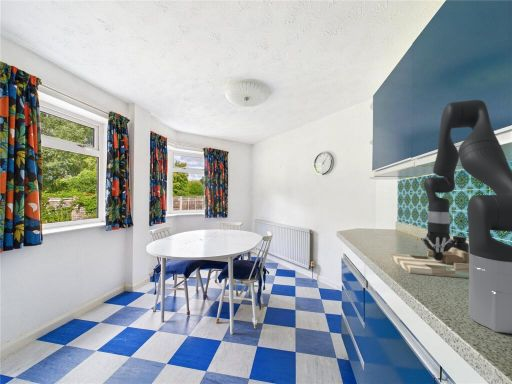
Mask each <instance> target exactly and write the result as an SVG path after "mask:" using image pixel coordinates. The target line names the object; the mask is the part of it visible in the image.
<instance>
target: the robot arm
mask: <svg viewBox="0 0 512 384" xmlns="http://www.w3.org/2000/svg"><path fill="white" fill-rule="evenodd" d="M487 107H488V106H487V105H486V103H485V102H484V101H483V100H481V99H472V100H462V101H461V100H460V101H453V102H449V103H447V104H446V105H445V107H444V109H443V111H442V114H441V119H440V125H439V134H438V145H437V153H436V154H437V155H436V157H435V162H434V165H433V168H432V169H433V170H432V172H433V174H434V175H436V177H435V176H430V177H427V178H426V179H425V180H424V183H423V187H424V191H425V194H426V197H427V202H428V212H427V213H428V214H427V234H426V236H425V237H421V238H420V241H422V243H423V244H424V245H425V246H426V248H427V249H428V250H432V251H433V258H434V259H435V260H437V261H441V260H442V259H443V252H445V251H446V252H447V251H450V249H451V248H452V247H453V246H454V245H455V244H456V241H454V240H453V238H451V235H450V231H451V230H450V229H451V228H450V227H451V215H450V200H449V199H447V198H444V197H439V196H437V194H438V193H439V194H448V193H451V192H453V191H454V190H455V188H456V181H455V174H456V172H455V171H456V170H457V169H456V167H457V166H458V162H459V160H460V165H461V167H462V168H463V170H464V171H465V172H466V173H467V174H469V175H470V176H471V177H473V178H474V179H476V180H478V181H479V182H481V183H483V184H484V185H486V186H487V187H488V188H490V189H491V190H492V191H493V192H494V194H476V195H475V194H474V195H473V196H472V197H470V198H469V200H468V203H467V208H466V210H467V211H466V213H467V224H468V225H467V227H468V228H467V230H468V244H469V278H468V317H469V318H470V319H471V320H472V321H474V322H476V323H477V324H479V325H482V326H483V327H486V328H488V329H490V330H492V331H493V332H495V333H496V332H497V333H504V334H510V335H512V245H511V244H508V243H504V242H503V241H499V240H497V239H495V238H494V237H493V236H492V233H491V231H495V232H496V231H498V232H512V169H511V167H510V165H509V162H508V160H507V157H506V155H505V152H504V150H503V147H502V145H501V144H500V141H499V140H498V138H497V136H496V134H495V131H494V129H493V125H492V123H491V119H490V115H489V111H488V108H487ZM460 128H462V129H463V128H471V129H472V131H470V132H471V133H470V134H468V136H466V138H465V139H464V140H463V141H462V142H461V144H460V146H459V147H458V149H457V147H456V145H455V143H454V141H453V139H452V137H451V134H452V130H453V129H460ZM436 193H437V194H436ZM430 242H431V243H430Z"/></svg>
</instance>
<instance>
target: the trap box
mask: <svg viewBox="0 0 512 384" xmlns="http://www.w3.org/2000/svg"><path fill="white" fill-rule="evenodd" d="M443 253H448V254H455V255H457V256H460V257H462V258H463V263H454V265H446V264H444V263H442V262H440V261H437V260H435V259H434V258H433V251H432V250H430V249H428V250H427V251H426V255H415V254H403V253H398V254H397V253H390V259H391V260H392V261H393V262H395V263H396V264H397V265H398V266H400V267H401V268H402V269H404V270H405V271H406V272H408V273H409V274H413V275H427V276H439V277H450V278H460V279H462V278H463V279H469V253H467V252H464V251H461V250H459V249H456V248H451V249H450V250H449V251H447V252H446V251H445V252H443Z"/></svg>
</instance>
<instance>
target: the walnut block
mask: <svg viewBox="0 0 512 384" xmlns="http://www.w3.org/2000/svg"><path fill="white" fill-rule="evenodd" d="M440 262H442V263H444V264H446V265H454V263H463V258H462V257H460V256H457V255H455V254H448V253H443V259H442V260H441V261H440Z"/></svg>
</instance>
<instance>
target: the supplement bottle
mask: <svg viewBox="0 0 512 384" xmlns="http://www.w3.org/2000/svg"><path fill="white" fill-rule="evenodd" d="M452 240H454V241H456V244H455V245H454V246H453V247H452V248H456V249H459V250H461V251H464V252H467V253H469V242H467V237H466V236H464V235H463V236H462V235H453V236H452Z"/></svg>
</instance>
